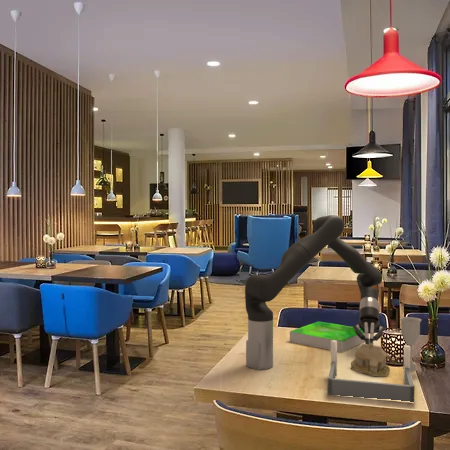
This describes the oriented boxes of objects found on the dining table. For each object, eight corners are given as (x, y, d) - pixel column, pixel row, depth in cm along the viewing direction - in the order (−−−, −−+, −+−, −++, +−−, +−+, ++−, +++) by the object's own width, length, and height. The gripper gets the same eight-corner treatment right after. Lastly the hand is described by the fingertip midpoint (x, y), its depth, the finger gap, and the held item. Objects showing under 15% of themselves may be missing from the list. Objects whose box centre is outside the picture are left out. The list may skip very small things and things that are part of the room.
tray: (289, 342, 216) (289, 331, 216) (318, 331, 235) (318, 321, 235) (342, 353, 200) (342, 341, 200) (368, 340, 219) (368, 329, 219)
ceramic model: (395, 370, 178) (395, 342, 177) (385, 379, 168) (385, 350, 168) (357, 363, 186) (357, 336, 185) (345, 371, 177) (345, 343, 176)
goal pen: (415, 403, 147) (416, 363, 146) (326, 395, 154) (326, 356, 153) (409, 381, 166) (410, 345, 166) (331, 374, 173) (331, 340, 173)
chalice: (421, 367, 181) (422, 318, 180) (420, 372, 174) (421, 321, 174) (400, 364, 184) (400, 316, 183) (398, 370, 177) (399, 320, 177)
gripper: (352, 304, 201) (351, 342, 190) (386, 306, 198) (387, 345, 186) (352, 315, 207) (351, 352, 195) (385, 317, 203) (386, 355, 192)
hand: (369, 348), depth 191 cm, fingers closed
